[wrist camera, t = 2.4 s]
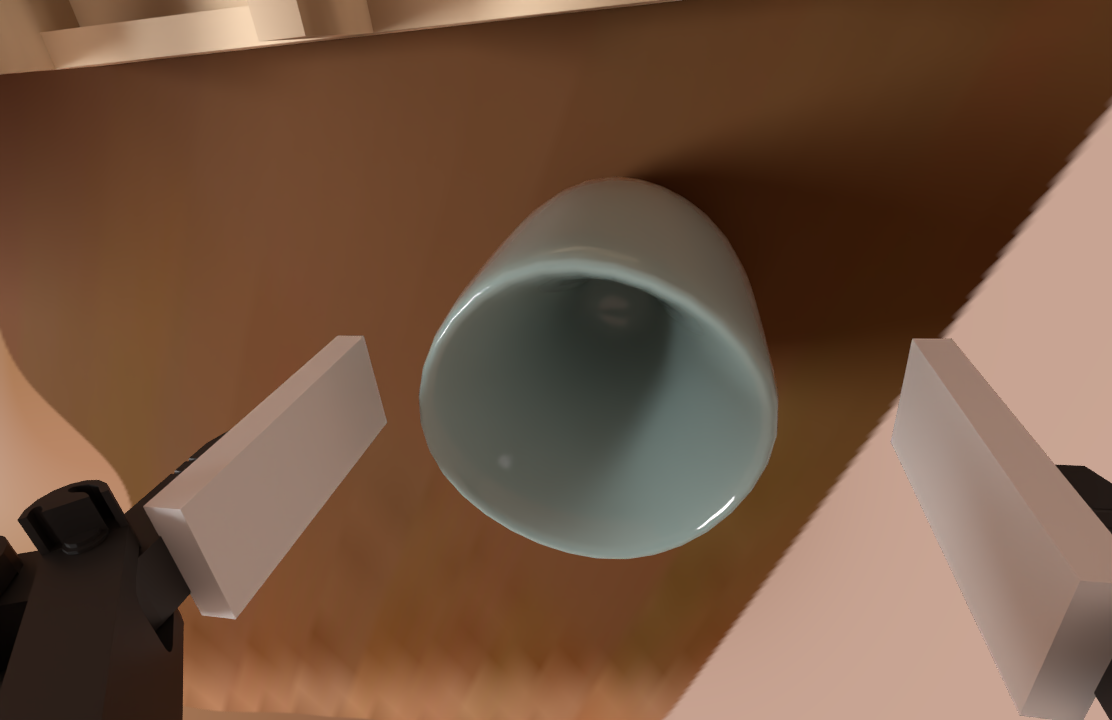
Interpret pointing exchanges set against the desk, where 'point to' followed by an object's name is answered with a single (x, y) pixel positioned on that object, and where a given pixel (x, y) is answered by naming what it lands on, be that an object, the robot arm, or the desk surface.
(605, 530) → the cup
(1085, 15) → the desk surface
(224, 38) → the rack
